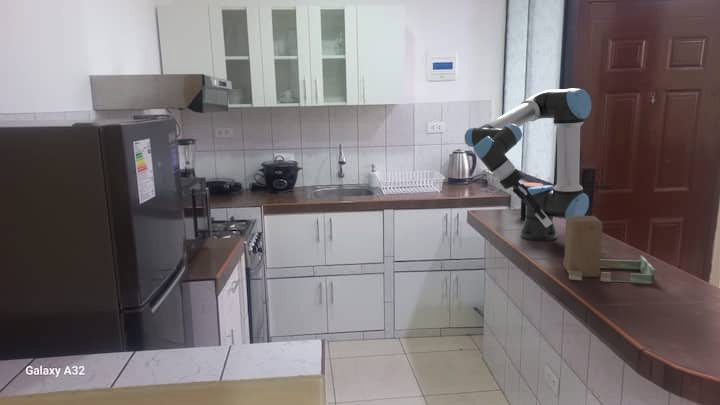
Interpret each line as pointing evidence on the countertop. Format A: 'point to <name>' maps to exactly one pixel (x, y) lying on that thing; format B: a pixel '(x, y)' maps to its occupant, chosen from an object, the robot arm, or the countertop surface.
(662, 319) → the countertop surface
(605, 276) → the trap lane
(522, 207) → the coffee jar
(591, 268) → the wooden block
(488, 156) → the robot arm
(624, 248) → the countertop surface
